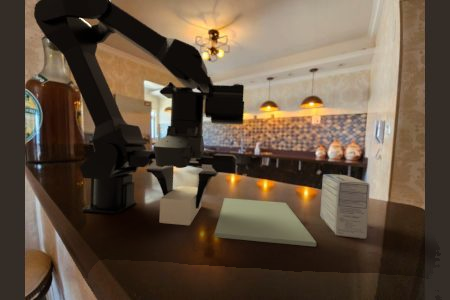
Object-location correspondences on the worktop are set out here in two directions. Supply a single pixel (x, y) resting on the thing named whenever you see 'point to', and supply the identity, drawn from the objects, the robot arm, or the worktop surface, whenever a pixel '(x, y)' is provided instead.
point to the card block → (179, 206)
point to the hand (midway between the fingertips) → (183, 206)
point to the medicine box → (345, 205)
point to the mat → (261, 223)
